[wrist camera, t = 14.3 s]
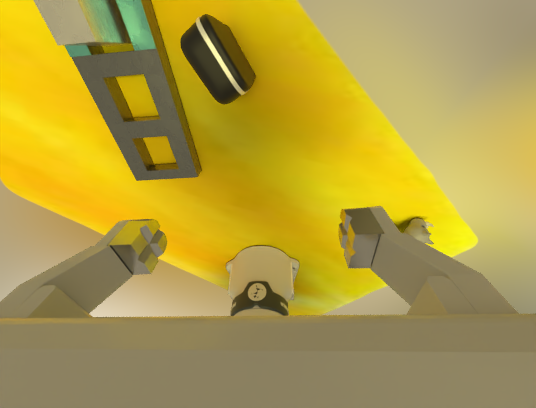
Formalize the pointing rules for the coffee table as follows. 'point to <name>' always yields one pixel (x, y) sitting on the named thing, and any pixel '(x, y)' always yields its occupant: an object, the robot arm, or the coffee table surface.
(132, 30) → the grey slotted board
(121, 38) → the steel block
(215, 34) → the battery charger
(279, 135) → the coffee table surface
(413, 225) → the toy rhinoceros
